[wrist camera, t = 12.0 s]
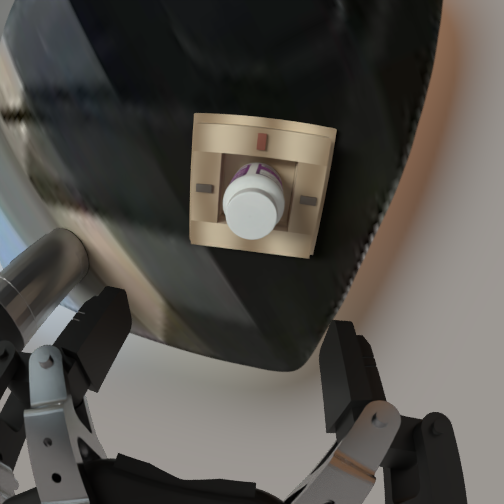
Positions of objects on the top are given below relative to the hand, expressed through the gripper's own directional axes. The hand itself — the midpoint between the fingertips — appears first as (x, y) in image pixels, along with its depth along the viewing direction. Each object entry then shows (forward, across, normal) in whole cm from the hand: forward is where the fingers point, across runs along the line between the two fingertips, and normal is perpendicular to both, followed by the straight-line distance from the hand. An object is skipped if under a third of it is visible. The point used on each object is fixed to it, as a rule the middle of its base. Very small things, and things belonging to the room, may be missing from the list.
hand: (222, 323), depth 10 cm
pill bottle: (+22, 0, 0) cm, 22 cm away
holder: (+22, 0, 0) cm, 22 cm away
